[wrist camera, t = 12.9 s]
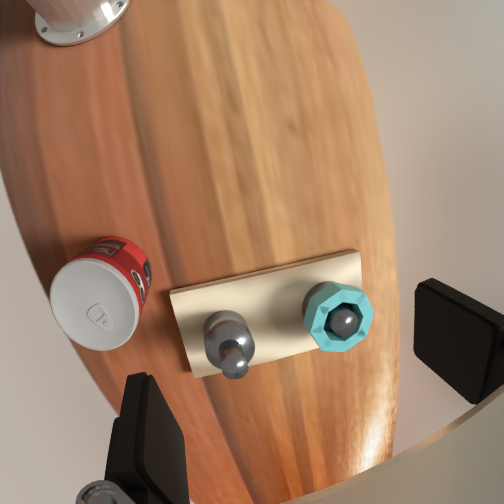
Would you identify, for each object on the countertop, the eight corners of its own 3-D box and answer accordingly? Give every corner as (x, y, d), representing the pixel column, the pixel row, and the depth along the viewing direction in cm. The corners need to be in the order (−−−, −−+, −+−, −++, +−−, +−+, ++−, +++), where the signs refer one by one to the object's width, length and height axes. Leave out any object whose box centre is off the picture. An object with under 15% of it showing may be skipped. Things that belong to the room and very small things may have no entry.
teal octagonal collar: (294, 308, 34) (301, 317, 31) (347, 271, 34) (357, 277, 32) (321, 352, 36) (329, 362, 33) (370, 317, 36) (380, 325, 34)
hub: (298, 287, 36) (316, 305, 31) (346, 275, 37) (369, 290, 32) (304, 333, 37) (321, 356, 32) (349, 320, 38) (370, 339, 33)
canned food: (130, 316, 35) (111, 367, 24) (75, 276, 33) (35, 314, 22) (167, 264, 34) (157, 300, 24) (108, 221, 32) (73, 240, 22)
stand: (198, 315, 35) (201, 351, 27) (243, 305, 35) (257, 339, 28) (208, 353, 36) (214, 395, 28) (251, 344, 36) (266, 383, 29)
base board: (170, 290, 35) (169, 294, 33) (353, 248, 38) (359, 251, 36) (194, 371, 38) (194, 378, 36) (358, 328, 41) (364, 333, 39)
